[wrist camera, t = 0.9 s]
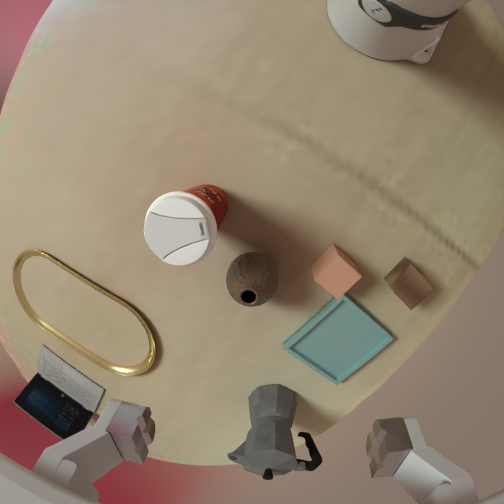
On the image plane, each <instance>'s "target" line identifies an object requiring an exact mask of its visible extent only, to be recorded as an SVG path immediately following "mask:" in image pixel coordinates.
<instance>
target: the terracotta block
mask: <svg viewBox="0 0 504 504" xmlns="http://www.w3.org/2000/svg"><path fill="white" fill-rule="evenodd" d="M311 268H312V273H313V277H314V280H315V281H316V282H317V283H318V284H320V285H321V286H322V287H323V288H324V289H326V290H327V291H328V292H329V293H330V294H331V295H333V296H334V297H335V298H336V299H337V300H338V299H339V298H340V297H341V296H342V295H343V294H344V293H346V292H347V291H348V290H349V289H350V288H351V287H352V286H353V285H354V284H355V283H356V282H357V281H358V280H359V279H360V278H361V277H362V276H361V274H360V273H359V271H358V269H357V267H356V266H355V264H354V262H353V261H352V260H351V259H349V258H348V257H347V256H346V255H345V254H344V253H343V252H342V251H341V250H340V249H339V248H338V247H336V246H335V245H334V244H333V243H332V244H331V245H330V246H329V247H328V248H327V249H326V250H325V251H324V252H323V253H322V254H321V255H320V256H319V257H318V259H317V260H316V261H315V262H314V263H313V264H312V265H311Z"/></svg>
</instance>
